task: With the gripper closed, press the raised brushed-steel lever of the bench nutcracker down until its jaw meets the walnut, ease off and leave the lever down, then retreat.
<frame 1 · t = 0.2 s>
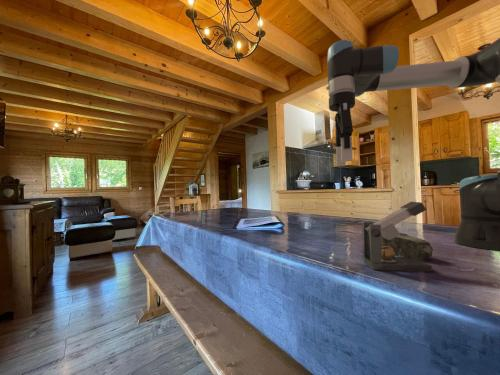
hand: (343, 163, 67), 28 cm above the table, fingers open, 13 cm apart
stone: (404, 255, 65), on the table
cracker base: (395, 266, 56), on the table
lever: (395, 223, 56), point 11 cm above the table, hinge at 30.0°
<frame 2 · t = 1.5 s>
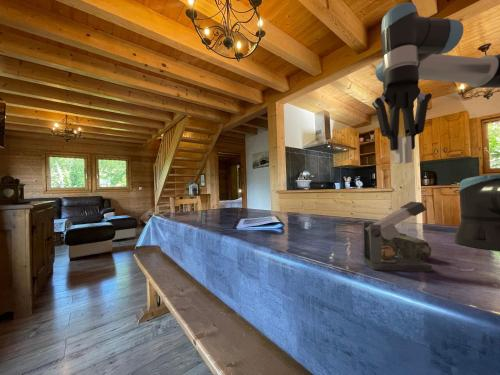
hand: (402, 162, 56), 26 cm above the table, fingers closed
nothing on the table moved.
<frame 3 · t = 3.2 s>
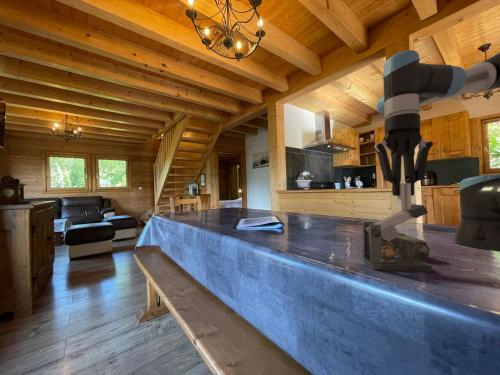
hand: (403, 208, 56), 15 cm above the table, fingers closed
lever: (396, 224, 56), point 11 cm above the table, hinge at 26.4°, touching gripper
everything else where it was.
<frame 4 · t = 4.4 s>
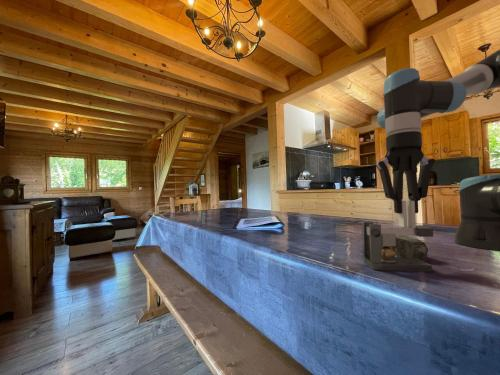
hand: (406, 226, 55), 10 cm above the table, fingers closed on lever
lever: (397, 235, 56), point 8 cm above the table, hinge at 0.5°, touching gripper
everything else where it was.
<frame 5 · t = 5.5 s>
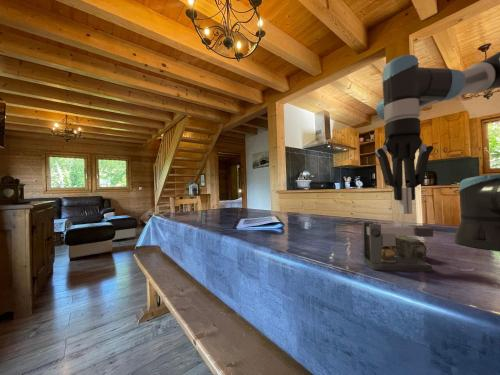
hand: (405, 213, 56), 14 cm above the table, fingers closed
lever: (397, 235, 56), point 8 cm above the table, hinge at 0.5°
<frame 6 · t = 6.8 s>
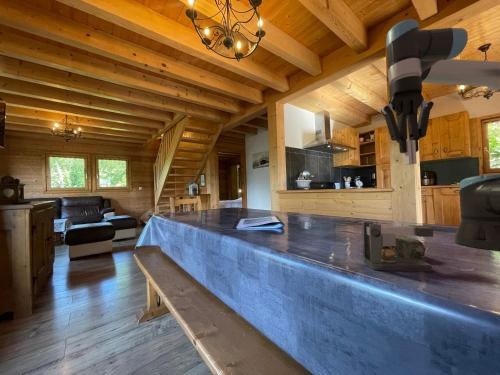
hand: (409, 164, 61), 27 cm above the table, fingers closed
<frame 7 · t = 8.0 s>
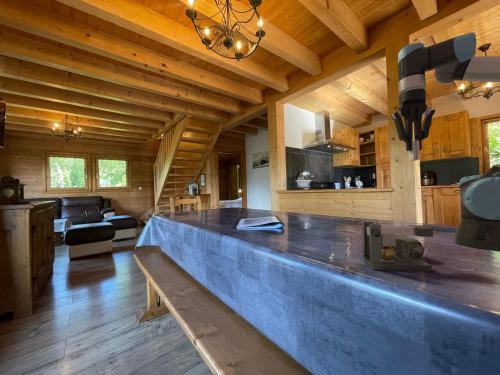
hand: (414, 160, 75), 29 cm above the table, fingers closed
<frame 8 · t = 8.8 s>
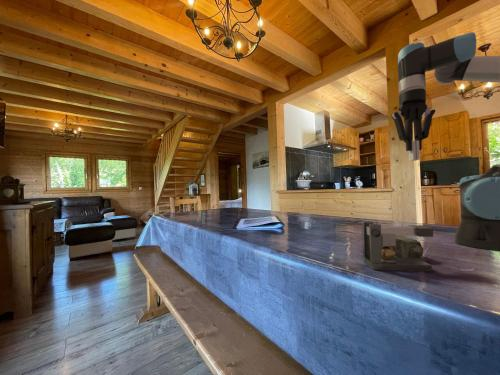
hand: (414, 160, 75), 29 cm above the table, fingers closed
at the end: lever at +0° (first picture: +30°); stone moved 1.9 cm from its start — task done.
